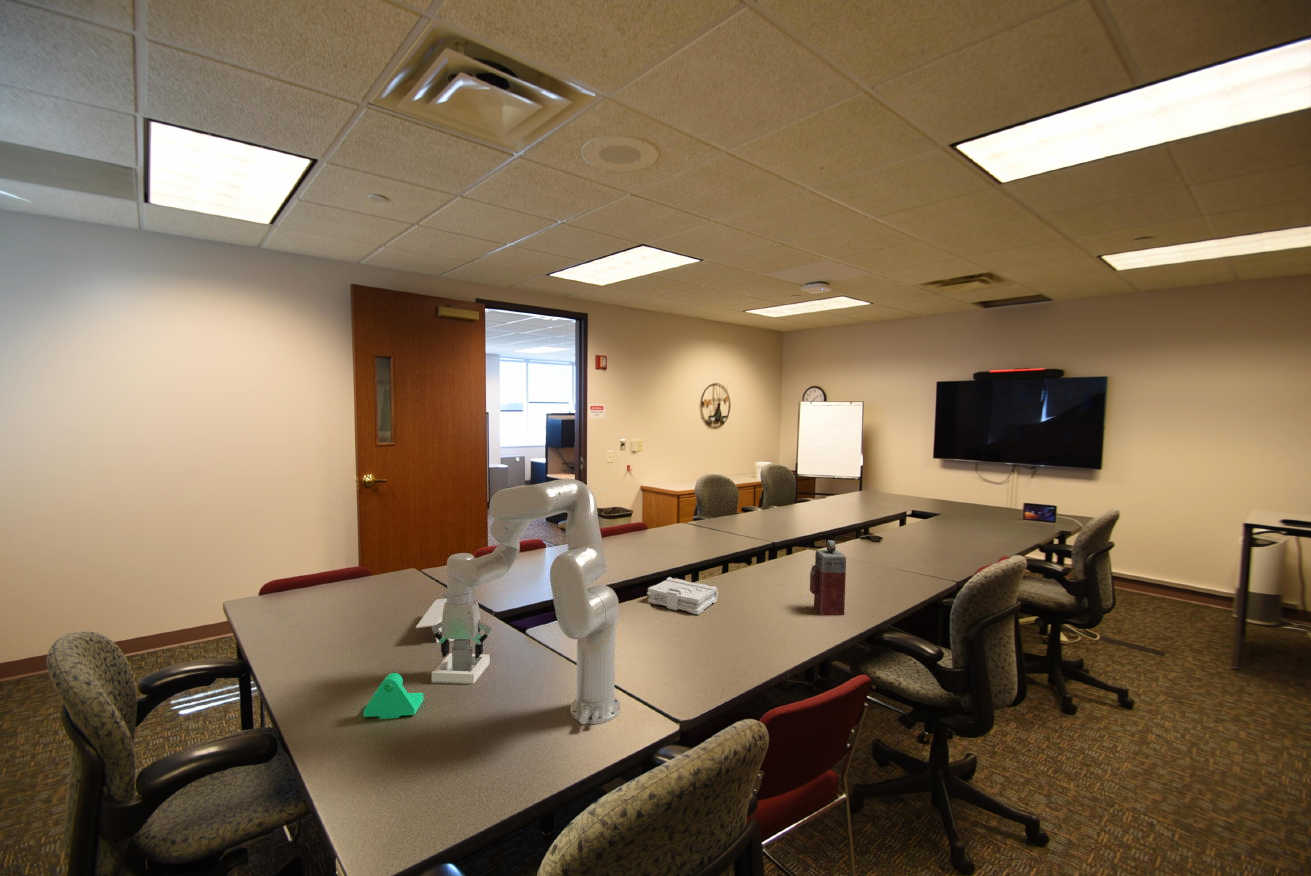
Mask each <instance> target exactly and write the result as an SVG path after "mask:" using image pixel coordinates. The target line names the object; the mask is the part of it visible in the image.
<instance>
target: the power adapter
mask: <svg viewBox="0 0 1311 876" xmlns="http://www.w3.org/2000/svg"><path fill="white" fill-rule="evenodd" d="M451 653H452V671H469V672H471V670H472V654H473V644H472V643H471V639H470V640H464V639H455V640H454V641H453V646H452V648H451Z"/></svg>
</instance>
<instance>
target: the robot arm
mask: <svg viewBox="0 0 1311 876" xmlns="http://www.w3.org/2000/svg"><path fill="white" fill-rule="evenodd" d="M488 506H489V507H488V508H489V513H490V516H491V517H492V518H493V519H494V520H493V521H492V522H491V524H490V527H489V531H490V532H489V533H490V535H491V537H492V538H493V539H494V540H495V541H496V542H497V543H498V544H497V546H496V547H495V549H494V550H493V551H492V552H490V553H488V554H485V555H481V556H479V557H475V556H474V555H473V554H472V553H468V552H461V553H460V552H459V553H455V554H451V555H450V556H449V557H448V558H447V560H446V561H447V562H446V583H447V584H446V587H447V588H446V589H447V590H446V592H443V594H442V599H446V598H447V602H446V603H445V604H444V608H443V615H442V622H440V623H438V624H436V625H434V626H431V631H432V632H433V634H434V637H435V639H436V638H437V639H438V640H439V643H438V644H440V652H441V655H442V656H441V657H442V658H446V657H447V656H448V655H449V654H450V642H449V639H464V640H470V641H471V640H473V641H474V642H475V643H476V644H475V645H474V654H475V658H479V656H480V655H481V654H483V652H484V642H485V640H487V639H488V638H489V636H490V634H491V632H492V630H493V628H492V627H491V626H490V625H488V624H486V623H485V622H482V621H481V620H482V618H481V612H480V606H479V602H478V600H477V599H476V588H478V587H481V586H483V585H486V584H488V583H491V582H493V581H496V580H498V579H500V578H503V577H504V576H505V575H506V574H507V573H508V572H509V571H510V570H511V569H512V566H513V565H514V564H515V562H516V561H517V560H518V557H519V555H520V551H521V550H520V548H521V545H520V539H521V537H522V536H523V535H524V533H525V531H526V530H527V528H528V526H529V525H530V523H531V522H532V521H534V520H535V521H537V520H541V519H545V518H549V517H552V516H553V517H554V516H556V515H560V514H562V513H563V514H564V513H567V518H566V523H565V536H566V540H567V551H564V552H561V553H560V554H559V555H557V556H556V557H555V558H554V559H553V561H552V563H551V565H550V570H549V583H550V587H551V588H550V589H551V594H552V598H553V605H554V609H555V616H556V619H557V624H558V626H559V628H560V630H561V632H562V633H563V634H564V635H565V636H566V637H567V638H568V639H571V640H576V641H577V642H576V699H574V700H573V701H572V702H571V703H570V707H569V708H570V709H569V710H570V711H569V713H570V715H571V717H572V718H573V719H574V720H575V721H577V722H578V723H580V724H582V725H586V724H587V725H600V724H601V725H602V724H605V723H607V722H610V721H612V720H614V719H615V718H617V716H619V714H620V713H621V702H620V700H619V699H617V698H616V697H615V678H616V677H615V674H616V673H615V672H616V671H615V669H616V667H615V665H616V664H615V663H616V659H615V658H616V632H617V631H616V630H617V624H618V617H619V612H620V611H619V610H620V604H619V598H618V596H617V594H616V592H615V590H614V589H613V588H611V586H610V587H609V586H607V585H605V584H597V585H596V584H595V585H592V586H590V587H588V586H589V585H590V584H593V583H594V582H596V581H598V580H599V579H601V578H602V577H603V576H604V574H606V570H607V559H606V554H605V550H604V549H605V547H604V544H603V539H602V533H601V528H600V523H599V513H598V506H597V501H596V497H595V495H594V493H593V491H592V490H591V488H590V487H589V486H588V485H587V484H585V483H584V482H583V481H580V480H578V479H573V478H560V479H555V480H551V481H546V482H541V483H535V484H530V485H526V484H525V485H522V484H521V485H516V486H512V487H511V486H510V487H506V488H500V489H499V490H498V491H496V492H495V493H494V494H493V496H492V497H491V499H490V502H489V505H488ZM439 628H441V631H439ZM481 631H484V633H483V634H482V632H481Z"/></svg>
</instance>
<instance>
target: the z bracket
mask: <svg viewBox="0 0 1311 876" xmlns="http://www.w3.org/2000/svg"><path fill="white" fill-rule="evenodd" d="M446 602H447V598H439V599H438V598H437V599H435V601H433V603H432V605H430V607H429V608H428V610H427V611H426V612H425V614H424V615H423V616H422V617H421V619H420V620H419V621H418V624H417V625H416V626H415V629H420V628H428V627H431V628H432V627H433V626H434V625H436V624H438V623H440V622H442V615H443V608H444V604H445V603H446ZM439 631H441V628H439ZM454 640H455V639H449V643H451V642H453V643H454ZM435 642H436V644H440V643H439V640H438V639H437V638H436V637H435Z"/></svg>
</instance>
